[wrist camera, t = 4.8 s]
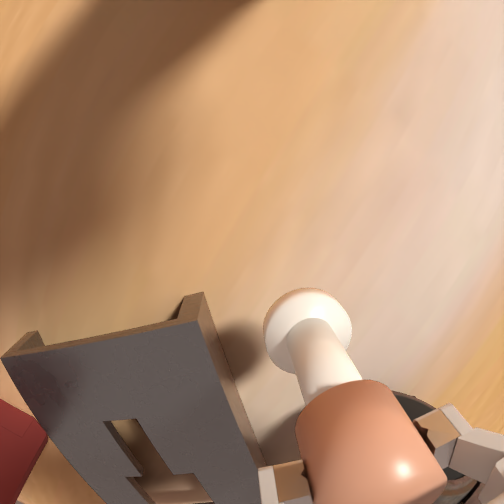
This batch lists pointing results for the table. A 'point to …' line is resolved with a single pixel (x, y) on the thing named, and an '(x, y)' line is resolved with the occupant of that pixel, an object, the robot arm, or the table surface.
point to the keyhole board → (143, 405)
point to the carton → (17, 450)
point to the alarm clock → (458, 485)
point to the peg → (346, 411)
